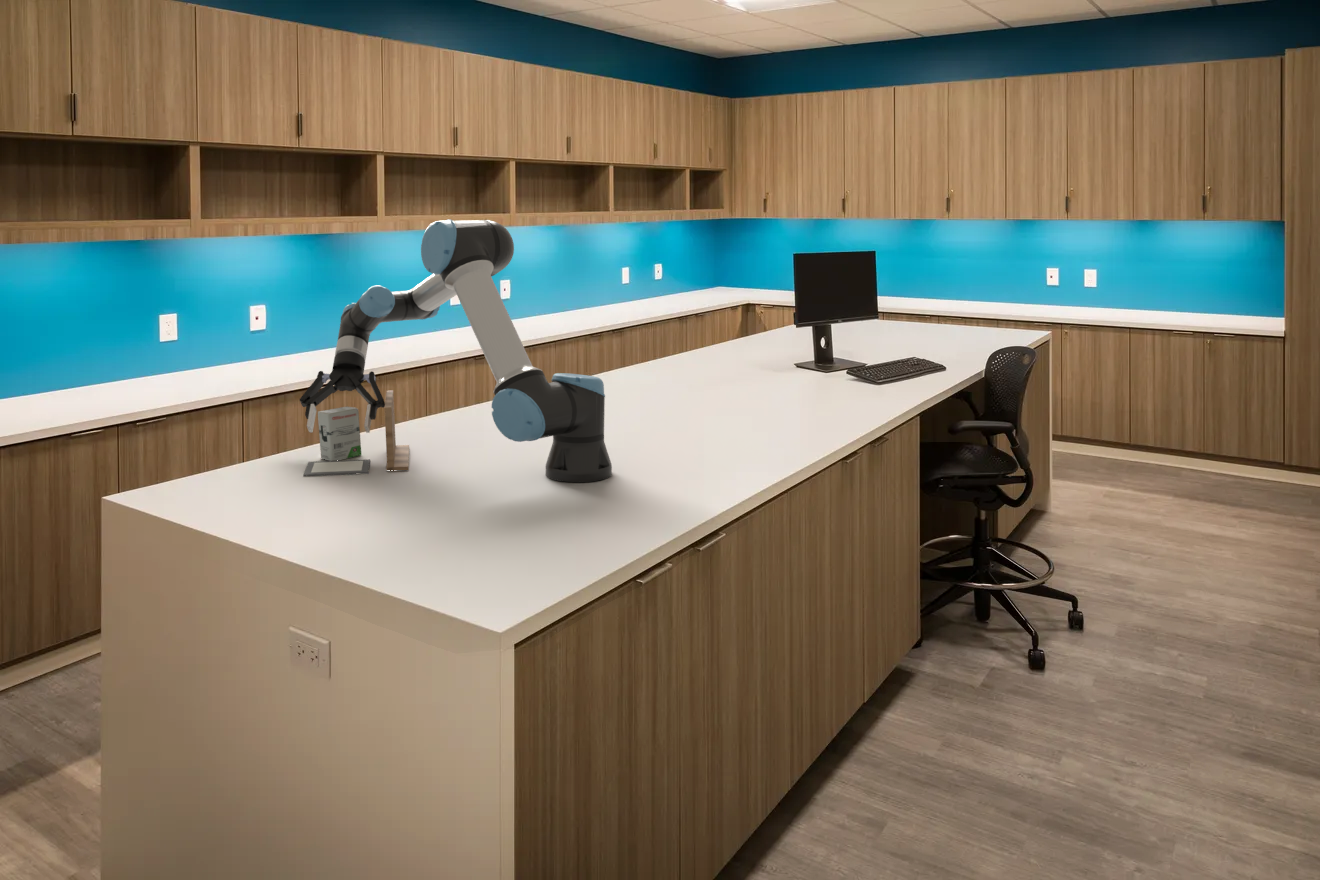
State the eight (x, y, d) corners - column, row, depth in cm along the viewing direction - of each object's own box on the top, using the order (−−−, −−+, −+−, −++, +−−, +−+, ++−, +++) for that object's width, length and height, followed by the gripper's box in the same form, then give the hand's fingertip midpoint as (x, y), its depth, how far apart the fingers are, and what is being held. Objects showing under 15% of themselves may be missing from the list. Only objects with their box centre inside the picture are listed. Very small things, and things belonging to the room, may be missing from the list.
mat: (368, 473, 237) (367, 471, 237) (303, 476, 234) (303, 474, 233) (370, 460, 248) (370, 458, 248) (308, 463, 245) (308, 461, 245)
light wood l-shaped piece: (408, 470, 240) (406, 406, 236) (386, 471, 238) (383, 407, 235) (409, 448, 260) (406, 389, 257) (388, 449, 259) (385, 390, 256)
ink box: (350, 452, 256) (347, 405, 253) (362, 455, 253) (359, 407, 250) (319, 458, 249) (316, 410, 247) (331, 462, 246) (328, 413, 244)
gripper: (402, 367, 266) (393, 438, 254) (303, 366, 264) (289, 437, 253) (397, 349, 259) (387, 421, 248) (296, 349, 258) (281, 420, 247)
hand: (338, 429), depth 251 cm, fingers open, 13 cm apart
